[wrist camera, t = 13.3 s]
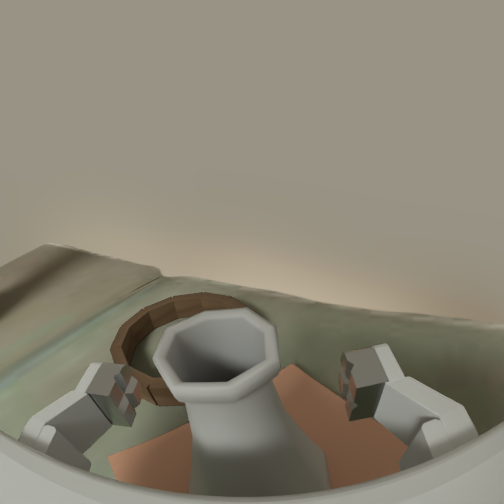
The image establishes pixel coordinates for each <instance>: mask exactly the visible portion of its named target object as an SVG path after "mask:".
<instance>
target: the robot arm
mask: <svg viewBox="0 0 504 504" xmlns="http://www.w3.org/2000/svg"><path fill="white" fill-rule="evenodd" d="M341 363H342V368H341V369H340V372H339V384H340V390H341V394H342V396H343V397H344V398H346V402H345V409H346V412H347V416H348V420H349V422H350V421H355V420H360V419H365V418H369V417H374V418H375V419H376V420H377V421H378V422H379V423H380V424H382V425H383V426H384V427H385V428H386V429H387V430H389V431H390V432H391V433H392V434H393V435H395V436H396V437H397V438H398V439H399V440H401V441H402V442H403V443H404V444H405V445H407V446H408V448H407V450H406V451H405V453H404V454H403V456H402V457H401V458H400V460H399V461H398V464H399V467H400V472H397V473H394V474H390V475H387V476H384V477H381V478H377V479H374V480H370V481H366V482H362V483H358V484H354V485H349V486H345V487H340V488H335V489H329V490H323V491H317V492H310V493H302V494H293V495H281V496H264V497H223V496H206V495H195V494H186V493H178V492H171V491H165V490H159V489H153V488H148V487H143V486H139V485H134V484H130V483H126V482H122V481H118V480H114V479H111V478H107V477H104V476H101V475H98V474H95V473H92V472H89V470H90V467H91V462H90V461H89V460H88V459H87V458H86V457H85V456H84V455H83V453H84V452H85V451H86V450H87V449H88V448H89V447H90V446H92V445H93V444H94V443H95V442H96V441H97V440H98V439H99V438H100V437H101V436H102V435H103V434H104V433H105V432H106V431H107V430H108V429H109V428H110V427H111V426H112V425H119V426H126V427H132V424H133V421H134V418H135V416H136V412H135V409H134V408H135V407H137V406H138V405H139V404H140V402H141V399H142V389H141V386H140V384H139V382H138V380H136V379H135V378H134V377H133V376H132V374H133V371H132V369H131V368H130V366H129V365H123V364H113V363H102V362H93V363H91V364H90V366H89V367H88V369H87V371H86V372H85V374H84V376H83V377H82V379H81V381H80V382H79V384H78V386H77V388H76V389H75V391H70V392H69V393H67V394H66V395H64V396H63V397H61V398H59V399H58V400H56V401H55V402H53V403H52V404H50V405H49V406H47V407H46V408H44V409H42V410H41V411H39V412H38V413H36V414H35V415H33V416H32V417H31V418H30V419H29V421H28V423H27V425H26V426H25V428H24V430H23V432H22V434H21V435H20V437H19V439H18V440H16V439H15V438H13V437H11V436H9V435H8V434H6V433H4V432H3V431H1V430H0V504H504V421H503V422H501V423H499V424H498V425H496V426H495V427H493V428H492V429H490V430H488V431H487V432H485V433H483V434H481V435H480V436H479V434H478V433H477V431H476V429H475V427H474V425H473V423H472V421H471V419H470V417H469V415H468V413H467V412H466V410H465V408H464V406H463V405H461V404H459V403H457V402H455V401H453V400H452V399H450V398H448V397H446V396H444V395H442V394H441V393H439V392H437V391H435V390H433V389H431V388H430V387H428V386H426V385H424V384H422V383H421V382H419V381H417V380H415V379H414V378H412V377H410V376H408V377H405V376H404V374H403V372H402V370H401V368H400V366H399V364H398V362H397V360H396V358H395V357H394V355H393V353H392V351H391V349H390V347H389V346H388V344H386V343H384V344H380V345H375V346H372V347H366V348H361V349H356V350H351V351H346V352H342V355H341Z"/></svg>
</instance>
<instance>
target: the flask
mask: <svg viewBox="0 0 504 504" xmlns="http://www.w3.org/2000/svg"><path fill="white" fill-rule="evenodd" d="M153 361H154V364H155V366H156V368H157V369H158V371H159V373H160V374H161V376H162V378H163V380H164V381H165V383H166V384H167V386H168V388H169V389H170V391H171V393H172V394H173V396H174V397H175V398H176V399H177V400H178V401H179V402H183V403H185V405H186V409H187V414H188V418H189V423H190V427H191V432H192V436H193V439H192V463H191V475H190V484H189V494H195V495H206V496H223V497H264V496H281V495H293V494H302V493H310V492H317V491H323V490H329V489H331V486H330V479H329V473H328V466H327V460H326V454H325V453H324V451H323V450H322V449H321V448H320V447H319V446H317V445H316V444H315V443H314V442H313V441H312V440H311V439H310V438H309V437H308V436H307V435H306V434H305V433H304V432H303V431H302V429H301V428H300V427H299V426H298V425H297V424H296V422H295V421H294V420H293V419H292V418H291V416H290V415H289V414H288V413H287V412H286V410H285V408H284V406H283V404H282V402H281V399H280V397H279V395H278V392H277V390H276V388H275V385H274V383H273V380H272V379H273V378H275V377H276V376H278V375H279V372H280V357H279V346H278V334H277V328H276V326H275V325H273V324H272V323H270V322H269V321H267V320H266V319H264V318H263V317H261V316H260V315H258V314H257V313H255V312H254V311H252V310H251V309H250V308H248V307H244V308H233V309H220V310H207V311H203V312H200V313H198V314H196V315H194V316H191V317H189V318H187V319H185V320H183V321H180V322H178V323H176V324H173V325H171V326H169V327H167V328H165V330H164V333H163V335H162V337H161V340H160V342H159V344H158V347H157V349H156V352H155V354H154V356H153Z"/></svg>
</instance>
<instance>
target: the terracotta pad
mask: <svg viewBox="0 0 504 504" xmlns="http://www.w3.org/2000/svg"><path fill="white" fill-rule="evenodd" d="M272 380H273V383H274V385H275V388H276V390H277V392H278V395H279V397H280V399H281V402H282V404H283V406H284V408H285V410H286V412H287V413H288V414H289V415H290V416H291V418H292V419H293V420H294V421H295V422H296V424H297V425H298V426H299V427H300V428H301V429H302V431H303V432H304V433H305V434H306V435H307V436H308V437H309V438H310V439H311V440H312V441H313V442H314V443H315V444H316V445H317V446H319V447H320V448H321V449H322V450H323V451H324V453H325V454H326V460H327V466H328V473H329V479H330V486H331V489H335V488H340V487H345V486H349V485H354V484H358V483H362V482H366V481H370V480H374V479H377V478H381V477H384V476H387V475H390V474H394V473H397V472H400V467H399V464H398V461H399V460H400V458H401V457H402V456H403V454H404V453H405V451H406V450H407V448H408V446H407V445H405V444H404V443H403V442H402V441H401V440H399V439H398V438H397V437H396V436H395V435H393V434H392V433H391V432H390V431H389V430H387V429H386V428H385V427H384V426H383V425H382V424H380V423H379V422H377V421H376V420H374V419H373V418H371V417H369V418H365V419H360V420H355V421H350V422H349V420H348V416H347V412H346V409H345V402H346V401H345V400H343V399H342V398H340V397H339V396H337V395H336V394H335V393H333V392H332V391H330V390H329V389H327V388H326V387H324V386H323V385H322V384H320V383H319V382H317V381H316V380H314V379H313V378H312V377H310V376H309V375H307V374H306V373H305V372H303V371H302V370H300V369H299V368H298V367H296V366H295V365H294V364H290V365H288V366H287V367H285V368H284V369H282V370H281V371H280V372H279V375H278V376H276V377H275V378H273V379H272ZM192 439H193V436H192V432H191V427H190V423H187V424H185V425H182V426H180V427H178V428H176V429H174V430H172V431H170V432H167V433H165V434H163V435H161V436H158V437H156V438H154V439H151V440H149V441H147V442H144V443H142V444H139V445H137V446H134V447H132V448H129V449H126V450H124V451H121V452H118V453H116V454H113V455H110V456H108V458H109V461H110V464H111V467H112V469H113V472H114V474H115V477H116V480H118V481H122V482H126V483H130V484H134V485H139V486H143V487H148V488H153V489H159V490H165V491H171V492H178V493H186V494H189V484H190V475H191V463H192Z"/></svg>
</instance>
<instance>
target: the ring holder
mask: <svg viewBox="0 0 504 504" xmlns="http://www.w3.org/2000/svg"><path fill="white" fill-rule="evenodd" d="M244 307H247V306H245V305H244V304H242V303H241V302H239V301H238V300H237V299H235V298H234V297H231V296H225V295H219V294H212V293H206V292H204V293H203V292H201V293H194V294H186V295H179V296H173V298H172V297H169V298H167V299H165V300H162V301H160V302H157V303H155V304H152V305H150V306H147V307H145V308H144V309H141V310H140V311H139V312H138V313H136V314H135V315H134V316H133V317H131V318H130V319H129V320H128V321H126V322H125V323H124V324H123V325H121V326H122V327H120V328H119V330H118V333H117V335H116V337H115V339H114V341H113V343H112V345H111V348H110V349H111V350H110V351H111V354H112V358H113V361H114V364H123V365H129V366H130V362H131V359H132V356H133V353H134V351H135V348H136V345H137V344H138V343H139V342H140V341H141V340H142V339H143V338H144V337H146V336H147V335H148V334H149V333H150V332H151V331H152V330H153V329H154V328H157V327H159V326H161V325H164V324H166V323H169V322H171V321H173V320H176V319H178V318H184V317H191V316H194V315H196V314H198V313H200V312H203V311H207V310H220V309H233V308H244ZM130 368H131V369H132V371H133V374H132V376H133V377H134V378H135V379H136V380H138V382H139V384H140V386H141V389H142V398H143V399H145V400H147V401H149V402H151V403H153V404H155V405H156V406H157V405H159V406H181V405H185V403H183V402H179V401H178V400H177V399H176V398H175V397H174V396H173V394H172V393H171V391H170V389H169V388H168V386H167V384H166V383H165V381H164V380H163V378H162V377H158V378H153V377H151V376H149V375H147V374H144V373H142V372H140V371H138V370H136V369H134V368H132V367H131V366H130Z"/></svg>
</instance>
